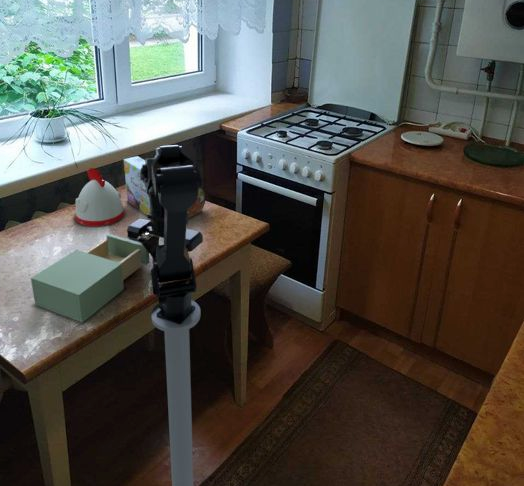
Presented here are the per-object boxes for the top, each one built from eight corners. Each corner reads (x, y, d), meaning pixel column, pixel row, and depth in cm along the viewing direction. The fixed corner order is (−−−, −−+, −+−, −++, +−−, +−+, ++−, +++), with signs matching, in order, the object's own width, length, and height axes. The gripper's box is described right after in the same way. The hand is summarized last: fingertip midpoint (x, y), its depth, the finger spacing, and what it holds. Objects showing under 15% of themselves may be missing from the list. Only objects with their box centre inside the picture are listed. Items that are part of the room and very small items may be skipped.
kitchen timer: (107, 201, 160) (103, 158, 155) (132, 215, 152) (129, 170, 147) (67, 215, 151) (61, 169, 145) (92, 230, 142) (87, 182, 137)
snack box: (125, 202, 161) (122, 158, 155) (141, 197, 164) (138, 155, 159) (160, 226, 146) (157, 179, 141) (176, 221, 150) (174, 175, 144)
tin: (172, 226, 146) (171, 200, 143) (165, 223, 148) (164, 197, 145) (206, 209, 158) (206, 185, 155) (199, 206, 160) (198, 182, 156)
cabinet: (79, 274, 122) (76, 249, 119) (123, 289, 117) (121, 263, 114) (35, 304, 110) (30, 277, 108) (82, 322, 105) (78, 295, 103)
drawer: (121, 244, 134) (120, 226, 132) (159, 255, 130) (158, 237, 128) (76, 274, 120) (74, 256, 118) (117, 288, 115) (115, 269, 114)
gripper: (213, 202, 121) (215, 257, 127) (150, 189, 129) (155, 242, 134) (188, 220, 112) (192, 279, 118) (122, 206, 119) (128, 262, 125)
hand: (166, 264), depth 124 cm, fingers open, 5 cm apart
